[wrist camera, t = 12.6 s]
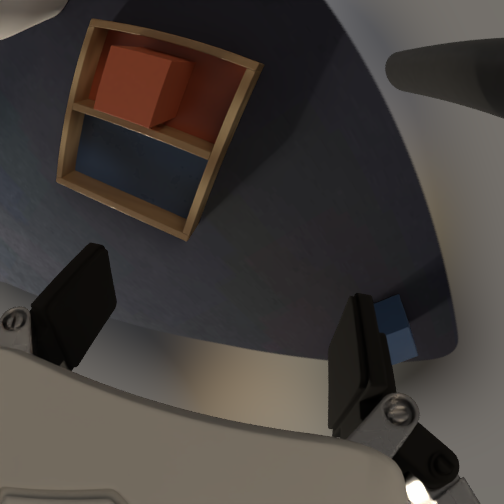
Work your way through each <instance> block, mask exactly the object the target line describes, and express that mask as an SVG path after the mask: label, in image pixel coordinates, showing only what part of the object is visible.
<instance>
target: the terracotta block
mask: <svg viewBox="0 0 504 504" xmlns="http://www.w3.org/2000/svg"><path fill="white" fill-rule="evenodd" d="M195 63H196V62H193V61H190V60H187V59H184V58H180V57H177V56H174V55H170V54H167V53H163V52H159V51H156V50H152V49H148V48H144V47H133V46H116V45H112V46H111V48H110V51H109V54H108V58H107V61H106V64H105V67H104V71H103V74H102V78H101V81H100V85H99V89H98V92H97V96H96V100H95V104H94V109H95V110H98V111H101V112H104V113H107V114H110V115H113V116H116V117H118V118H121V119H124V120H127V121H130V122H133V123H135V124H138V125H141V126H144V127H146V128H151V127H153V126H156V125H158V124H161V123H163V122H165V121H168V120H170V119H173V118H175V117H176V114H177V111H178V108H179V105H180V103H181V100H182V97H183V94H184V92H185V89H186V86H187V84H188V81H189V79H190V76H191V73H192V71H193V68H194V66H195Z"/></svg>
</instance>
